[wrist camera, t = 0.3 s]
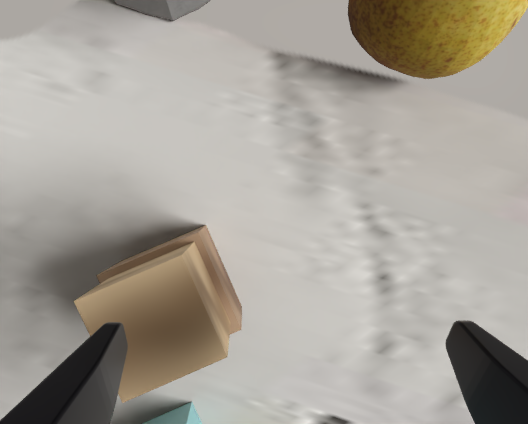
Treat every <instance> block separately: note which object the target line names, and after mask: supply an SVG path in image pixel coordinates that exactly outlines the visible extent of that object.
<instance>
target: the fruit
mask: <svg viewBox="0 0 528 424" xmlns="http://www.w3.org/2000/svg"><path fill="white" fill-rule="evenodd" d="M527 8H528V0H349V5H348V16H349V22H350V27H351V31H352V34H353V35H354V37H355V38H356V40H357V41H358V42H359V44H360V45H361V47H362V48H363V49H364V50H365V51H366V52H367V53H368V54H369V55H370V56H372V57H373V58H374V59H375V60H376V61H377V62H379V63H380V64H382V65H384V66H386V67H388V68H390V69H393V70H396V71H398V72H401V73H403V74H406V75H410V76H413V77H419V78H424V79H432V78H438V77H445V76H449V75H453V74H456V73H458V72H460V71H462V70H464V69H466V68H468V67H470V66H472V65H474V64H475V63H477V62H479V61H480V60H481V59H483V58H484V57H485V56H486V55H487V54H489V53H490V52H491V51H492V50H493V49H494V48H495V47H496V46H497V45H498V44H499V43H501V42H502V41H503V39H504V38H505V37H506V36H507V35H508V34H509V33H510V32H511V30H512V29H513V28H514V26H515V25H516V24H517V23H518V21H519V20H520V18H521V17H522V15H523V14H524V12H525V11H526V9H527Z"/></svg>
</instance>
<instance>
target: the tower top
mask: <svg viewBox="0 0 528 424" xmlns="http://www.w3.org/2000/svg"><path fill="white" fill-rule="evenodd" d="M74 303H75V305H76V307H77V309H78V311H79V313H80V315H81V318H82V320H83V322H84V324H85V326H86V328H87V330H88V332H89V334H90V336H91V335H92V334H94V333H95V332H96V331H97V330H98V329H99V328H100V327H101V326H102V325H103V324H105V323H107V322H121V323H122V324H123V326H124V330H125V334H126V339H127V343H128V349H127V355H126V359H125V364H124V368H123V373H122V377H121V382H120V386H119V391H118V394H119V396H120V398H121V400H122V403H124V402H126V401H128V400H130V399H133V398H135V397H137V396H140V395H142V394H144V393H146V392H149V391H151V390H153V389H156V388H158V387H160V386H162V385H165V384H167V383H169V382H172V381H174V380H176V379H178V378H181V377H183V376H185V375H187V374H190V373H192V372H194V371H197V370H199V369H201V368H203V367H206V366H208V365H210V364H213V363H215V362H217V361H219V360H222V359H224V358H226V357H227V355H228V345H229V334H230V324H231V323H230V320H229V318H228V316H227V314H226V311H225V309H224V307H223V305H222V302H221V300H220V298H219V296H218V293H217V291H216V289H215V287H214V284H213V282H212V280H211V278H210V275H209V273H208V271H207V269H206V266H205V264H204V262H203V260H202V257H201V255H200V253H199V251H198V248H197V246H196V244H195V242H192V243H190V244H188V245H185V246H183V247H181V248H178V249H176V250H174V251H171V252H169V253H167V254H164V255H162V256H159V257H157V258H155V259H152V260H150V261H148V262H145V263H143V264H141V265H138V266H136V267H134V268H131V269H129V270H127V271H124V272H122V273H120V274H117V275H115V276H113V277H110V278H108V279H107V280H105V281H104V282H102V283H101V284H99V285H98V286H96V287H95V288H93V289H92V290H90V291H88V292H87V293H85V294H84V295H82V296H81V297H79V298H78V299H76V300H75V301H74Z"/></svg>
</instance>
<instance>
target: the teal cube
mask: <svg viewBox="0 0 528 424" xmlns="http://www.w3.org/2000/svg"><path fill="white" fill-rule="evenodd" d="M142 424H202V423H201V421H200V418H199V416H198V414H197V412H196V410H195V408H194V405H193V403H192V402H190V403H188V404H186V405H183V406H181V407H179V408H176V409H174V410H172V411H170V412H167V413H165V414H163V415H161V416H158V417H156V418H154V419H151V420H149V421H147V422H145V423H142Z"/></svg>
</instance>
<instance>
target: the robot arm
mask: <svg viewBox="0 0 528 424" xmlns="http://www.w3.org/2000/svg"><path fill="white" fill-rule="evenodd" d="M127 349H128V343H127V339H126V334H125V330H124V326H123V324H122V323H121V322H107V323H105V324H103V325H102V326H101V327H100V328H99V329H98V330H97V331H96V332H95V333H94V334H92V335H91V336H90V337H89V338H88V339H87V340H86V341H85V342H84V343H83V344H82V345H81V346H80V347H79V348H77V349H76V350H75V351H74V352H73V353H72V354H71V355H70V356H69V357H68V358H67V359H66V360H65V361H64V362H62V363H61V364H60V365H59V366H58V367H57V368H56V369H55V370H54V371H53V372H52V373H51V374H50V375H49V376H47V377H46V378H45V379H44V380H43V381H42V382H41V383H40V384H39V385H38V386H37V387H36V388H35V389H34V390H32V391H31V392H30V393H29V394H28V395H27V396H26V397H25V398H24V399H23V400H22V401H21V402H20V403H19V404H17V405H16V406H15V407H14V408H13V409H12V410H11V411H10V412H9V413H8V414H7V415H6V416H5V417H4V418H2V419H1V420H0V424H110V421H111V418H112V415H113V412H114V408H115V404H116V400H117V395H118V391H119V386H120V382H121V377H122V373H123V368H124V364H125V359H126V355H127ZM446 349H447V352H448V355H449V358H450V361H451V364H452V366H453V369H454V372H455V375H456V378H457V380H458V383H459V386H460V389H461V392H462V395H463V397H464V400H465V402H466V405H467V407H468V409H469V412H470V414H471V416H472V418H473V420H474V422H475V424H528V360H526V359H525V358H523V357H522V356H521V355H519V354H518V353H516V352H515V351H514V350H512V349H511V348H509V347H508V346H506V345H505V344H504V343H502V342H501V341H499V340H498V339H497V338H495V337H494V336H492V335H491V334H489V333H488V332H487V331H485V330H484V329H482V328H481V327H480V326H478V325H477V324H475V323H474V322H472V321H456V322H454V324H453V326H452V328H451V330H450V332H449V335H448V337H447V339H446Z"/></svg>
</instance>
